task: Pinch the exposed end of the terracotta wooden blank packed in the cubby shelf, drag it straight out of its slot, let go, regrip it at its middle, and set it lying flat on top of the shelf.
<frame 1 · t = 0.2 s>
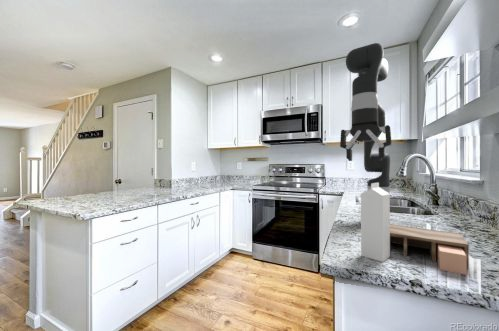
hand: (364, 160, 69), 29 cm above the counter, tool pointing down, fingers open, 8 cm apart
shelf: (418, 252, 68), on the counter
blank: (449, 265, 59), on the counter
milk: (375, 256, 65), on the counter
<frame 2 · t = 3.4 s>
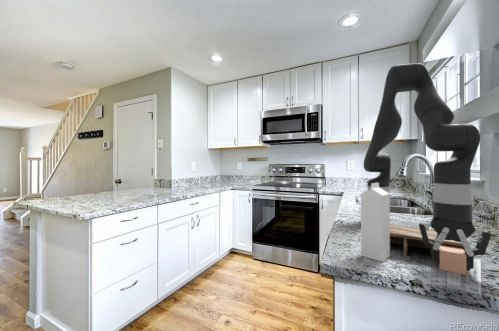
hand: (451, 266, 56), 1 cm above the counter, tool pointing down, fingers closed on blank, 5 cm apart
blank: (450, 264, 59), on the counter, touching gripper
everything else where it was.
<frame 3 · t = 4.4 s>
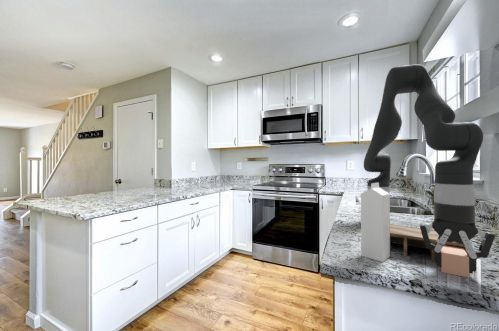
hand: (454, 268, 55), 1 cm above the counter, tool pointing down, fingers closed on blank, 5 cm apart
blank: (451, 267, 58), on the counter, touching gripper
everything else where it was.
when the fingers open (1 cm above the counter, at t = 5.6 s): blank stays where it is, on the counter.
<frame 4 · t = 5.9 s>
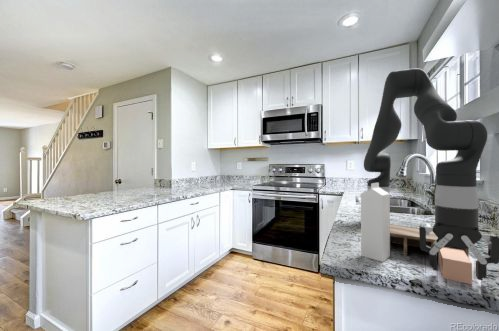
hand: (455, 273, 52), 1 cm above the counter, tool pointing down, fingers open, 7 cm apart
blank: (453, 273, 55), on the counter
everything else where it was.
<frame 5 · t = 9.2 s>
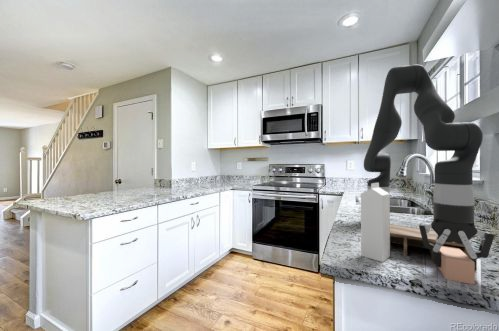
hand: (453, 268, 55), 1 cm above the counter, tool pointing down, fingers closed on blank, 5 cm apart
blank: (452, 272, 55), on the counter, touching gripper
everything else where it was.
when the fingers open (8 cm above the counter, at t = 14.3 s): blank moves 1 cm, resting on shelf.
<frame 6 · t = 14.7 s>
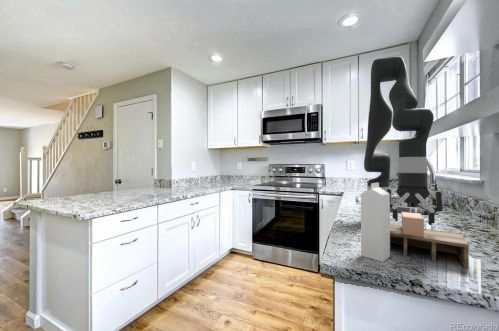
hand: (412, 222, 69), 9 cm above the counter, tool pointing down, fingers open, 8 cm apart
blank: (412, 231, 69), point 6 cm above the counter, touching shelf
everything else where it was.
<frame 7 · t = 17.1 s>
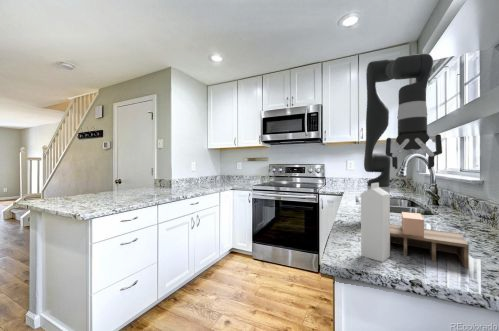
hand: (412, 169, 69), 26 cm above the counter, tool pointing down, fingers open, 8 cm apart
nothing on the counter moved.
at the end: blank inside the target area (0.4 cm from its centre), point 6.2 cm above the counter; blank tilted 0°; the gripper is holding nothing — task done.
